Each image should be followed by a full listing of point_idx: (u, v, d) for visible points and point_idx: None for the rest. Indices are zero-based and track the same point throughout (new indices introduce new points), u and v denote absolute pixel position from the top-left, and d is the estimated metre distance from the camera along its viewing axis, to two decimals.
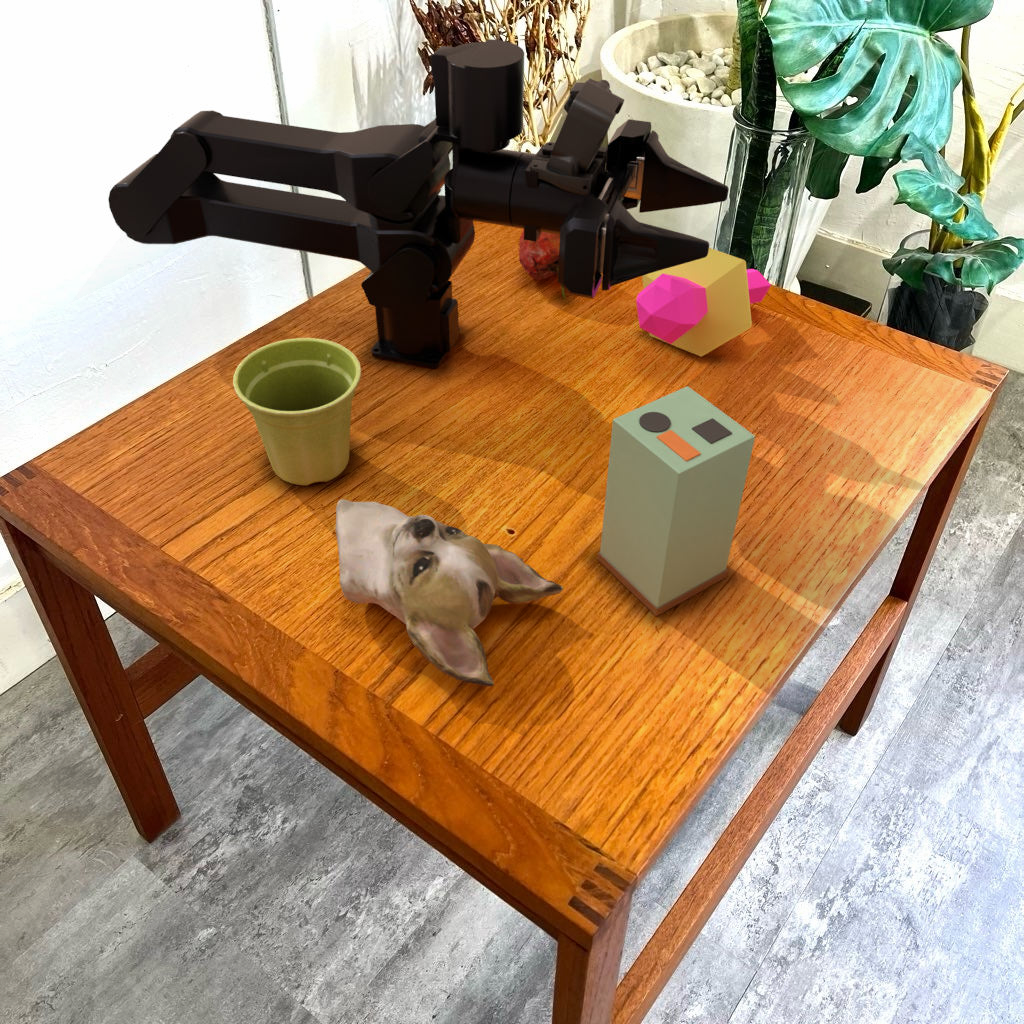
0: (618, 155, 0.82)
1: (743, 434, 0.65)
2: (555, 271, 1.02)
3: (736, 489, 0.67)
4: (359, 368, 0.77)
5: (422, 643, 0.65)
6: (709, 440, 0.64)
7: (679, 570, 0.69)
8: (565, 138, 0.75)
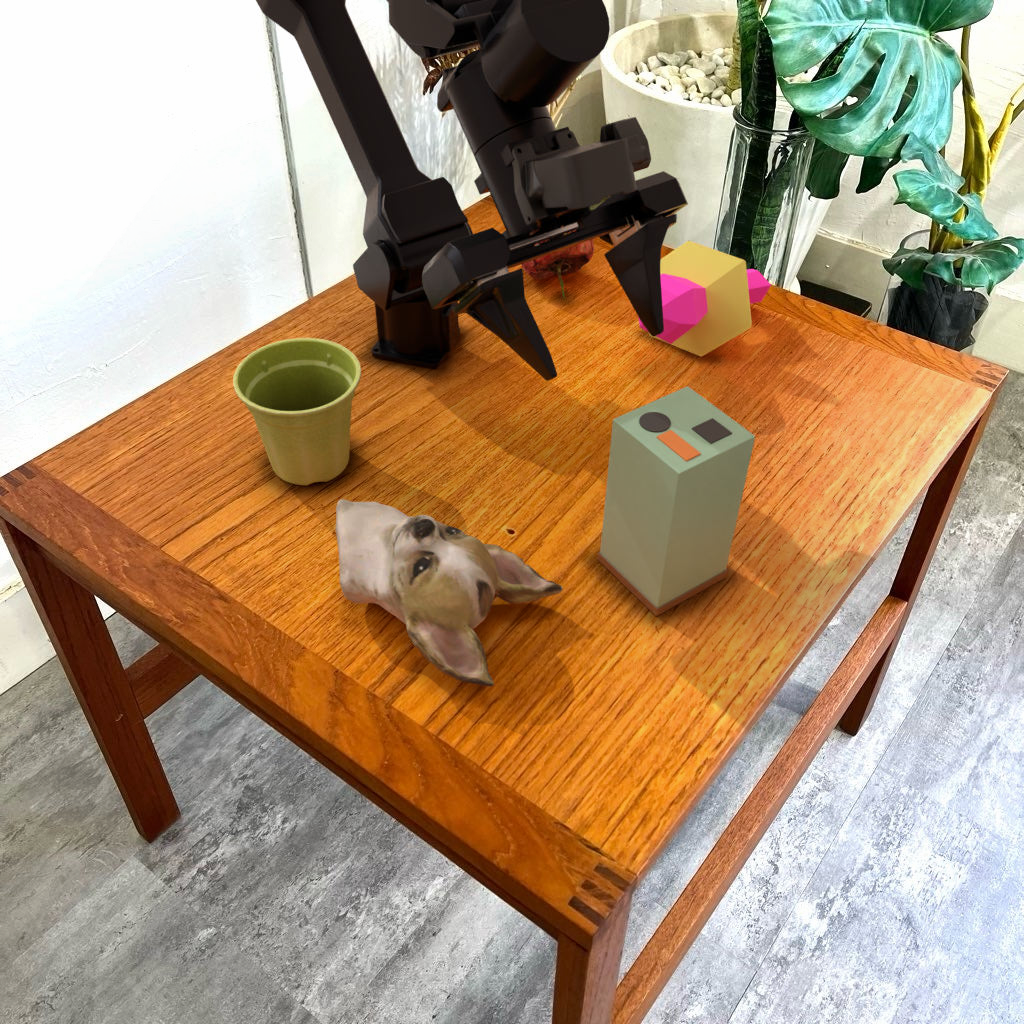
0: (626, 200, 0.70)
1: (743, 434, 0.65)
2: (555, 271, 1.02)
3: (736, 489, 0.67)
4: (359, 368, 0.77)
5: (422, 643, 0.65)
6: (709, 440, 0.64)
7: (679, 570, 0.69)
8: (546, 169, 0.63)
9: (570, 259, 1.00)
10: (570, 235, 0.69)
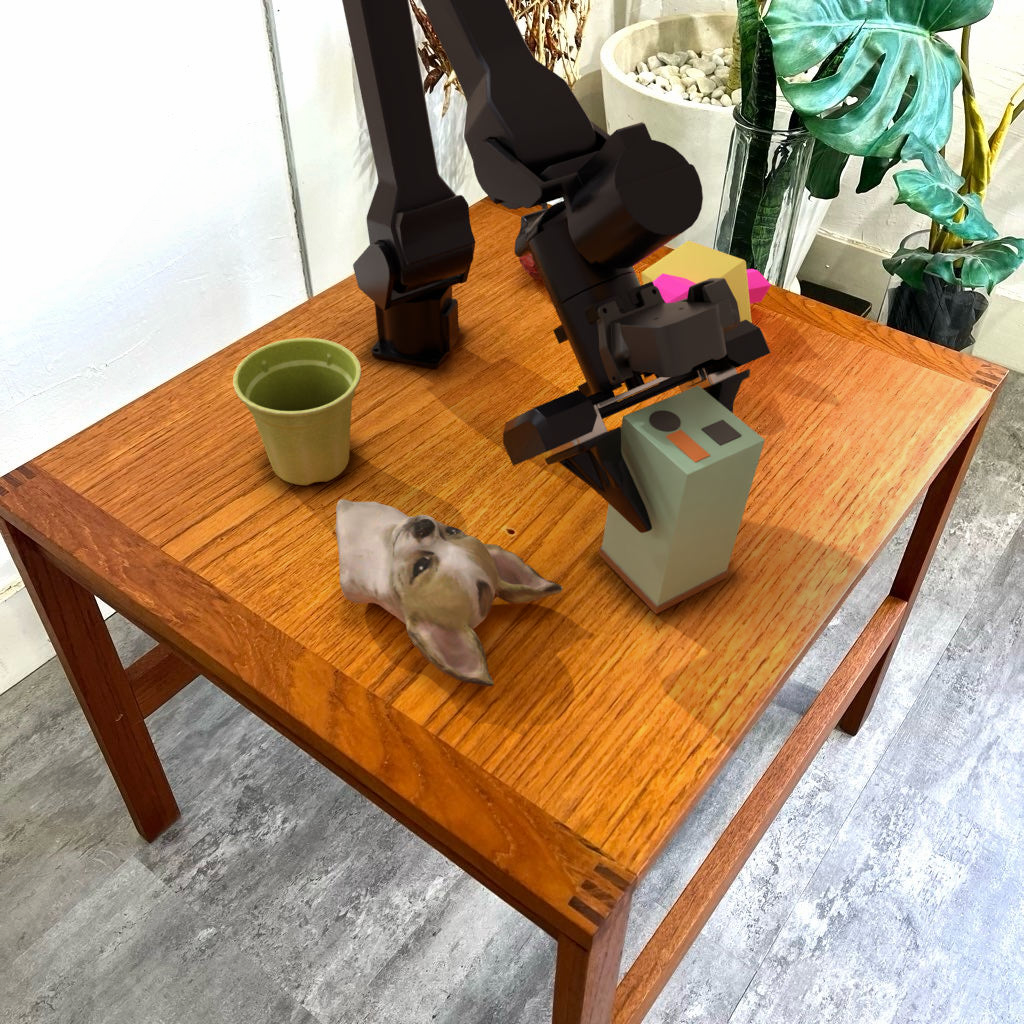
0: None
1: (752, 437, 0.65)
2: None
3: (742, 491, 0.67)
4: (359, 368, 0.77)
5: (422, 643, 0.65)
6: (718, 442, 0.64)
7: (681, 569, 0.69)
8: (635, 334, 0.61)
9: None
10: (641, 392, 0.67)
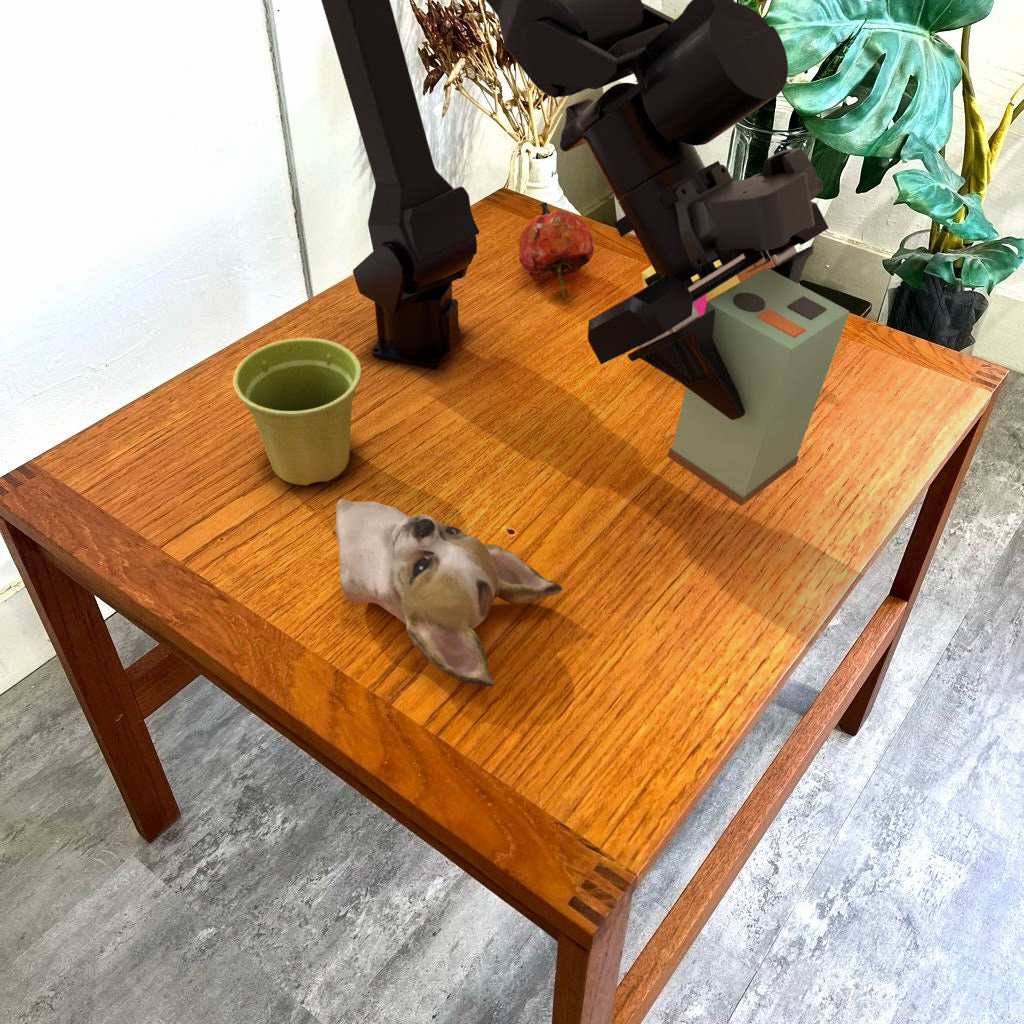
0: None
1: (837, 310, 0.64)
2: (555, 271, 1.02)
3: (824, 368, 0.67)
4: (359, 368, 0.77)
5: (422, 643, 0.65)
6: (808, 316, 0.63)
7: (767, 455, 0.68)
8: (727, 210, 0.60)
9: (570, 259, 1.00)
10: (715, 277, 0.66)
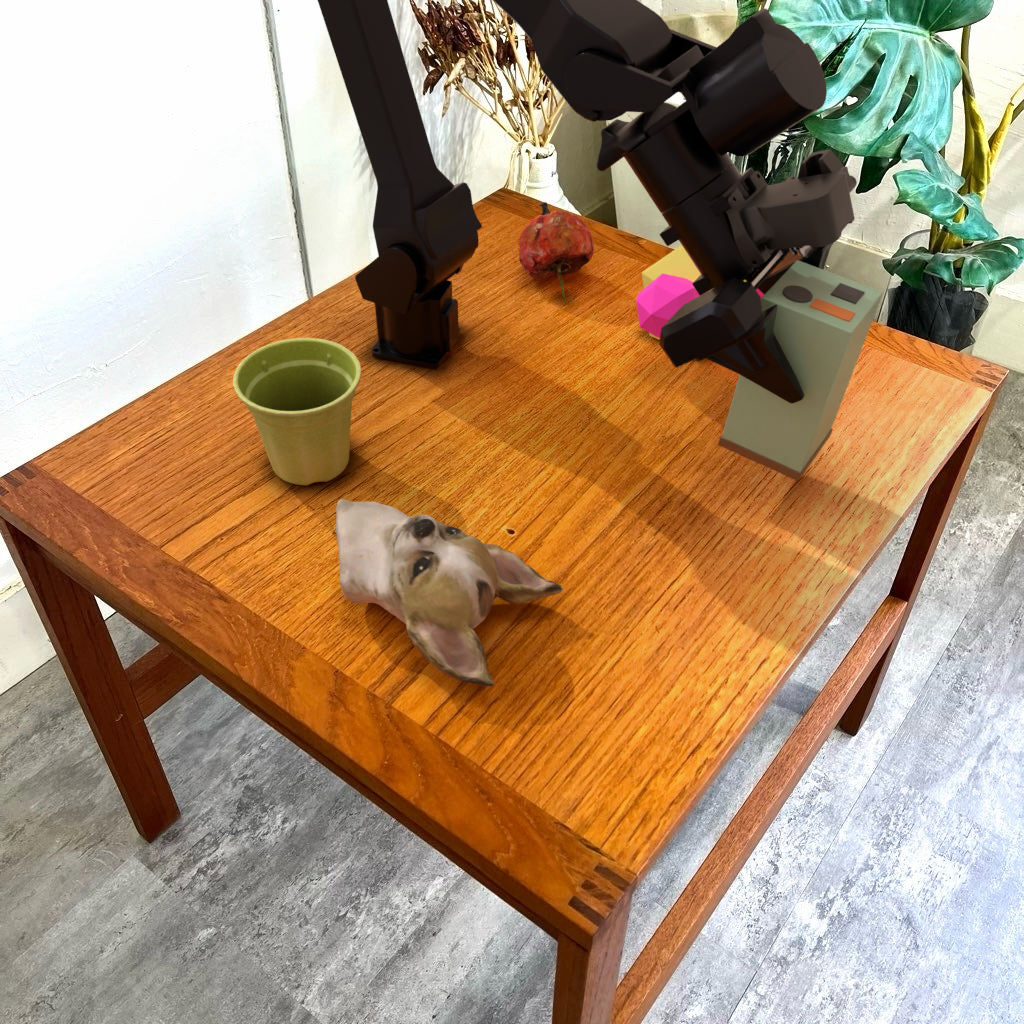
0: None
1: (873, 292, 0.70)
2: (555, 271, 1.02)
3: (861, 346, 0.73)
4: (359, 368, 0.77)
5: (422, 643, 0.65)
6: (853, 301, 0.69)
7: (819, 432, 0.74)
8: (783, 213, 0.65)
9: (570, 259, 1.00)
10: None
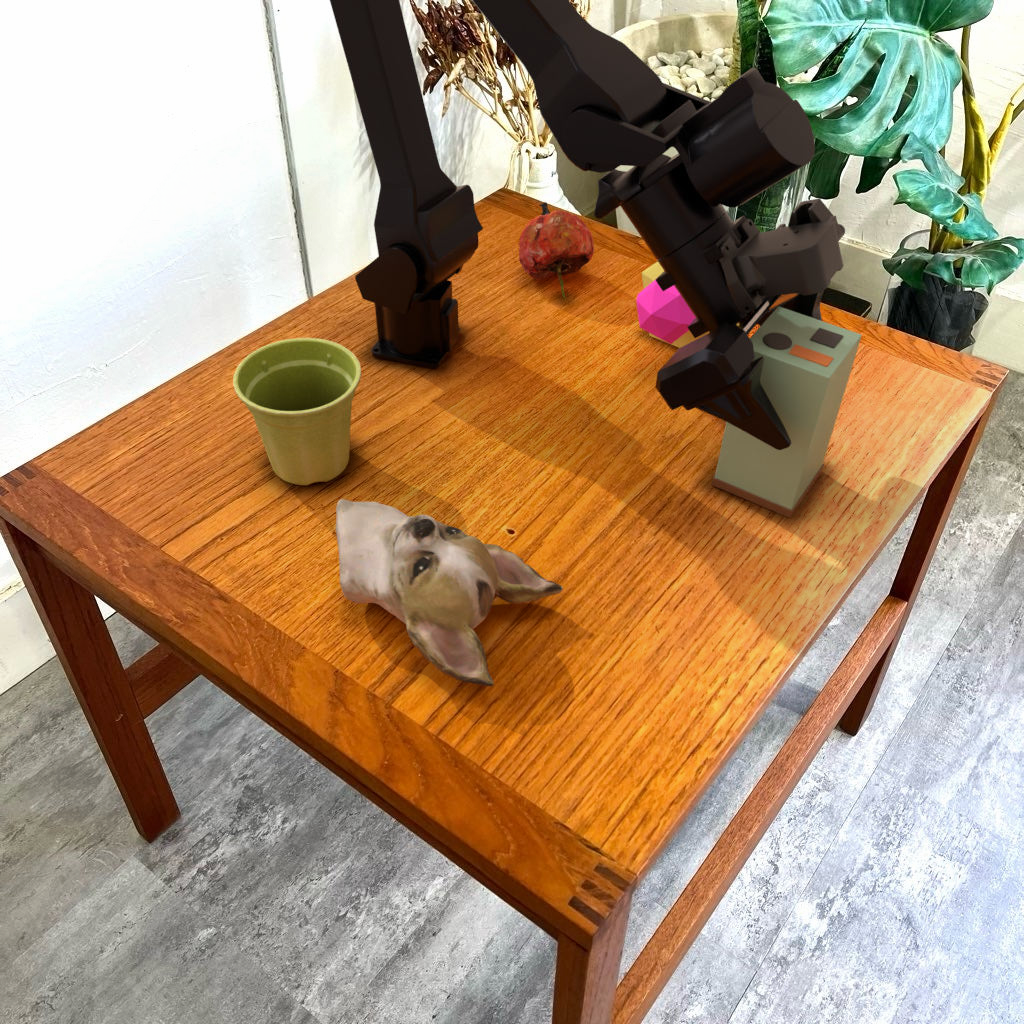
0: None
1: (852, 335, 0.73)
2: (555, 271, 1.02)
3: (844, 386, 0.75)
4: (359, 368, 0.77)
5: (422, 643, 0.65)
6: (831, 345, 0.72)
7: (807, 470, 0.77)
8: (774, 262, 0.67)
9: (570, 259, 1.00)
10: None
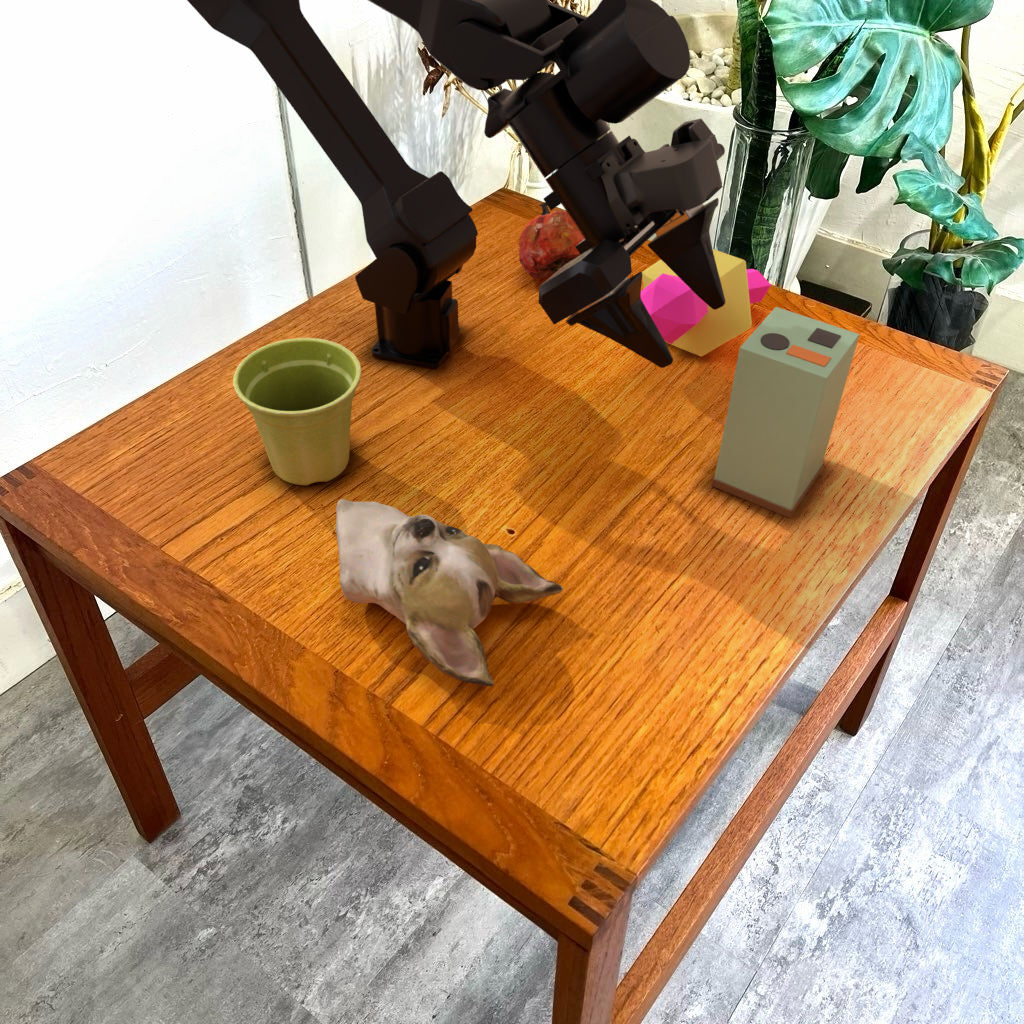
0: None
1: (849, 335, 0.73)
2: (555, 271, 1.02)
3: (842, 386, 0.75)
4: (359, 368, 0.77)
5: (422, 643, 0.65)
6: (829, 345, 0.72)
7: (806, 470, 0.77)
8: (651, 177, 0.69)
9: (570, 259, 1.00)
10: None
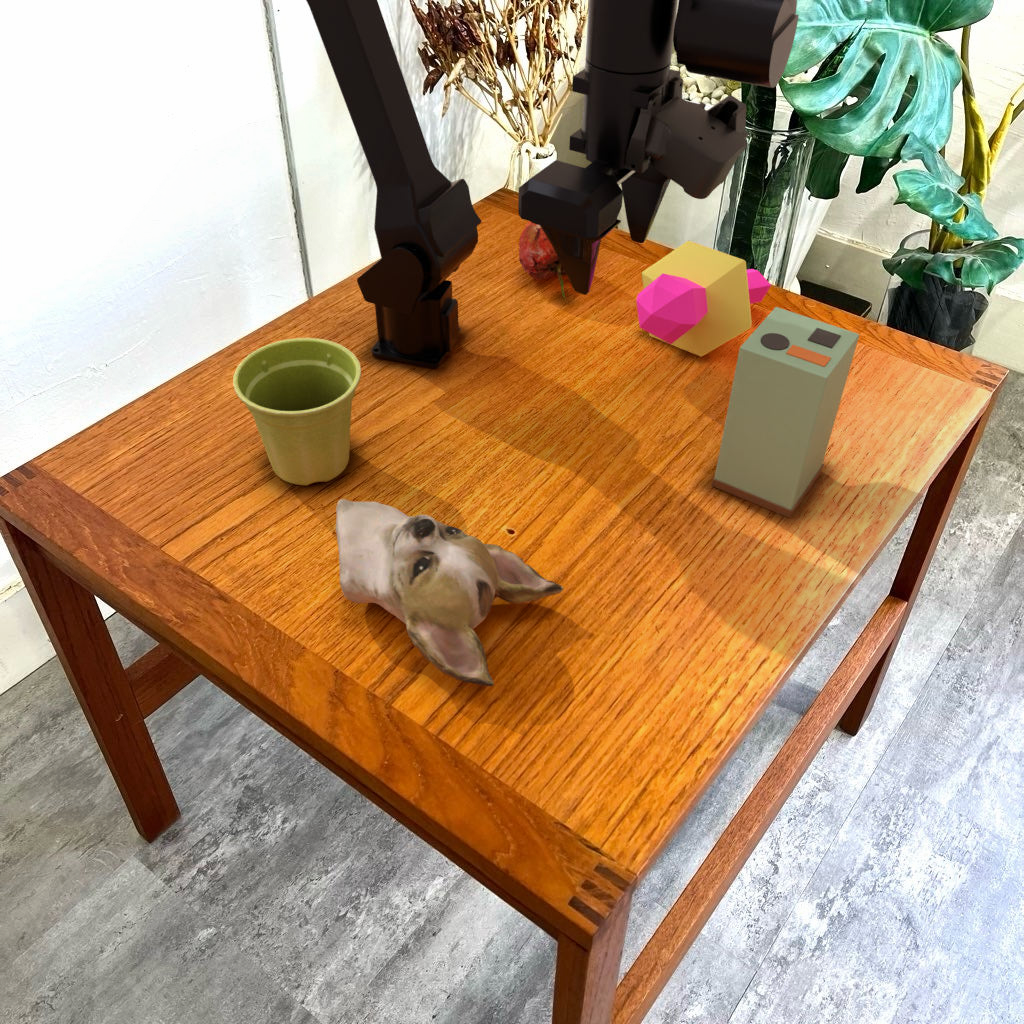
0: None
1: (849, 335, 0.73)
2: (555, 271, 1.02)
3: (842, 386, 0.75)
4: (359, 368, 0.77)
5: (422, 643, 0.65)
6: (829, 345, 0.72)
7: (806, 470, 0.77)
8: (683, 149, 0.68)
9: None
10: None
